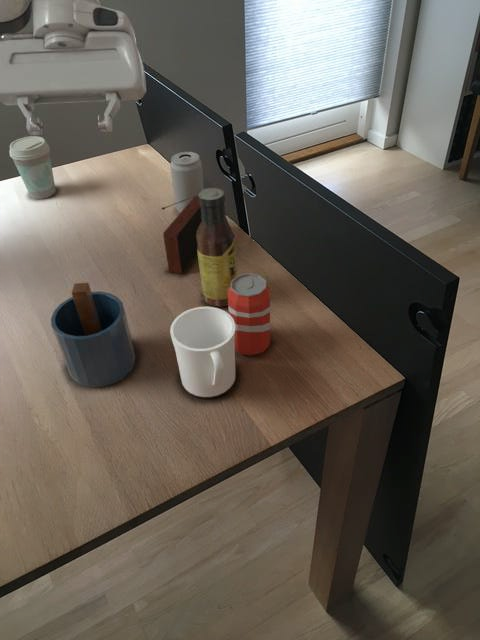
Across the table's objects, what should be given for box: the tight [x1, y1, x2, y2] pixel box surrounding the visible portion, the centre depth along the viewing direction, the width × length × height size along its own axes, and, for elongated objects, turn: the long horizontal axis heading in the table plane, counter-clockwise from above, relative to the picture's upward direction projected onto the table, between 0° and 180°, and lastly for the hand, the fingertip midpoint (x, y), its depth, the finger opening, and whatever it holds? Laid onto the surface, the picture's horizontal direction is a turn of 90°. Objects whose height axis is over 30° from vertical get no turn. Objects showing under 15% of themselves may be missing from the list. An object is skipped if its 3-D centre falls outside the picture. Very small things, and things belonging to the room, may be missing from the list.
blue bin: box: [50, 291, 136, 388], centre depth 80 cm, size 10×10×10 cm
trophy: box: [71, 282, 102, 336], centre depth 78 cm, size 5×5×14 cm
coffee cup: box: [9, 135, 57, 200], centre depth 121 cm, size 8×8×12 cm
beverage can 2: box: [227, 272, 271, 356], centre depth 81 cm, size 6×6×12 cm
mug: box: [169, 306, 236, 400], centre depth 76 cm, size 11×9×10 cm
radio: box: [161, 190, 202, 275], centre depth 99 cm, size 19×3×15 cm, turn 159°
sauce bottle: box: [196, 187, 238, 308], centre depth 87 cm, size 7×6×20 cm
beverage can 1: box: [169, 151, 205, 214], centre depth 112 cm, size 6×6×12 cm
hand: (70, 131), depth 71 cm, fingers open, 8 cm apart
